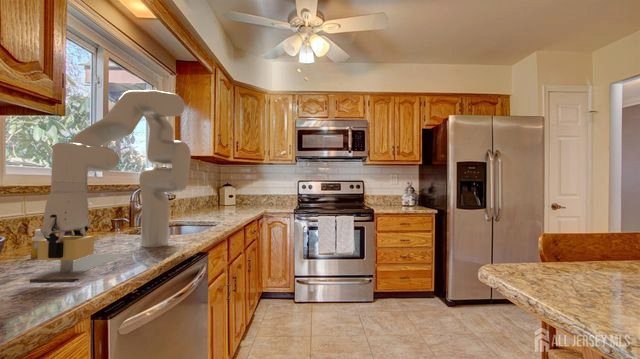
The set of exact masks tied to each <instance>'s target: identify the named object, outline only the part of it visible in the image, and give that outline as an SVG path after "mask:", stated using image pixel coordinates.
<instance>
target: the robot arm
mask: <svg viewBox="0 0 640 359" xmlns="http://www.w3.org/2000/svg"><path fill="white" fill-rule="evenodd" d="M185 107H186V106H185V101H184V99H183V98H182V97H181V96H180V95H179V94H177V93H173V92H166V91H160V90H153V89H151V90H150V89H144V90H141V89H139V90H138V89H133V90H127V91H125V92H124V93H123V94H122V95H121V96H120V97H119V99H118V100H117V101H116V102H115V104H114V105H113V107H111V109H110V110H109V112H108V113H107V114H106V116H104V117H103V118H101V119H100V120H98V121H96V122H94V123H92V124H91V125H88V126H87V127H86V128H84V129H82V130H80V131H79V132H78V133H77V134H76V135H74V137H72V139H70V140H71V141H70V142H65V141H64V142H60V141H59V142H55V143H54V144H53V146H52V155H51V156H52V157H51V177H50V178H51V179H50V180H51V181H50V193H49V194H48V195H47V198H46V201H45V202H46V203H45V207H44V213H43V222H42V224H43V225H42V227H41V228H40V229H41V230H40V231H41V232H42V234H43V235H44V237H45V238H46V241H47V243H49V244H48V258H62V257H63V244H64V242H61V241H62V239H63V236H64V234H65V232H66V231H72V234H73V236H87V231H88V230H89V227H90V225H91V223H92V221H91V219H90V218H89V201H88V200H89V199H88V178H89V177H88V176H89V175H88V173H89V172H109V171H113V170H114V169H115V168H117V166H119V163H120V157H119V154H118V153H117V151H115V150H114V149H112V148H111V147H108V146H104V145H106V144H108V143H111V142H114V141H117V140H120V139H123V138H126V137H128V136H130V135H132V133H134V130H135V129H136V127H137V125H138V124H139V123H140V121H141V120H142V119H143V117H144V119H145V120H146V121H147V124H148V127H149V132H148V133H149V135H148V142H147V143H148V145H147V151H146V152H147V154H146V155H147V156H146V157H147V161H149V163H151V164H153V165H161V166H162V165H165V166H166V165H167V166H168V165H171V167H156V166H155V167H148V168H145V169H143V171H141V173H140V175H139V176H138V177H139V178H138V182H139V187H140V192H141V216H140V243H139V244H138V245H137V246H138V247H139V246H140V247H142V248H155V247H156V248H157V247H164V246H166V247H167V246H168V247H169V246H171V247H172V246H173V243H172V242H169V239H170V238H171V235H170V234H169V231H170V230H169V229H170V225H169V224H170V200H169V198H168V196H167V195H166V193H181V192H184V191H185V189H187V187H188V183H189V176H190V167H191V159H192V154H191V150H190V147H189V145H188V144H187V143H186V142H185V141H183V140H174V128H173V125H172V124H171V123H170V121H169V120H168V119H167V117H180V116H181V115H182V114H183V113H184V111H185V109H186V108H185ZM77 230H78V231H77ZM56 234H57V235H56Z"/></svg>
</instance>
